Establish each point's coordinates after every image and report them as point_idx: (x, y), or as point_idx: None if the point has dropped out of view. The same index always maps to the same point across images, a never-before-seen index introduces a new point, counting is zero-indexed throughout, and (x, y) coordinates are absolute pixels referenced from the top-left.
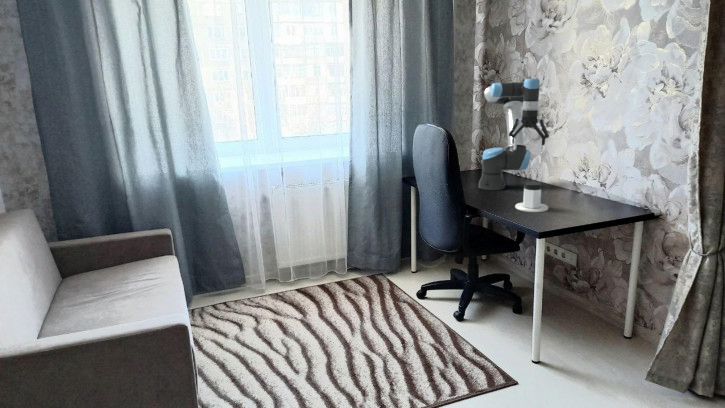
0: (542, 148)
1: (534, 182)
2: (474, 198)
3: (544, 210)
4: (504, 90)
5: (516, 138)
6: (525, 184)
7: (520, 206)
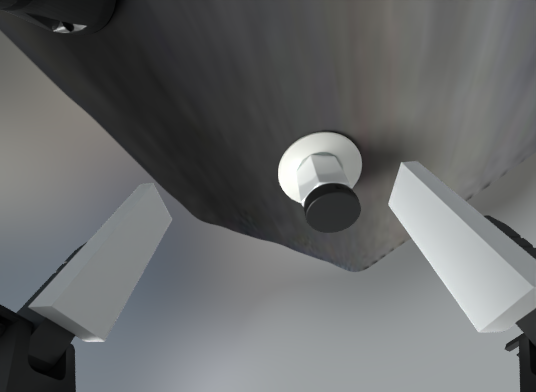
0: (432, 176)
1: (335, 202)
2: (154, 165)
3: (354, 184)
4: None
5: (82, 295)
6: (312, 227)
7: (294, 187)
